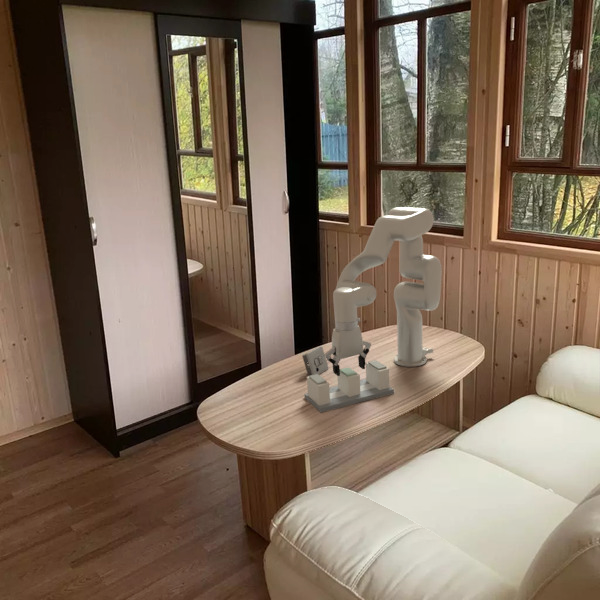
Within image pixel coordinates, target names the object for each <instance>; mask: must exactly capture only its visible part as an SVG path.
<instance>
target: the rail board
mask: <svg viewBox="0 0 600 600" xmlns="http://www.w3.org/2000/svg"><path fill="white" fill-rule="evenodd" d="M329 390H330V403H328V404H324V405H320V406H319V405H318V404H317V403H316V402H315V401H314V400H313V399H311V398H310V397H309V396H308V392H305V393H304V395H303V396H304V399H305V400H306V401H307V402H308V403H310V404H311V405H312V406H313V407H314V408H315V409H317V410H318V412H320V413H324V412H328V411H331V410H335V409H339V408H343V407H347V406H351V405H356V404H358V403H361V402H362V403H363V402H365V401H370V400H375V399H377V398H381V397H384V396H389V395H393V394H395V389H394V388H393V387H391V386H390V385H389V388H386V389H382V390H379V389H377V388H376V387H374V386H373V385H372V384H370V383H368V382H367V381H366V378H363V379H360V393H361V394H359V395H355V396H351V397H348V396H347V395H346V394H344V393H343V392H342V391H341V390H339V389H338V385H335V386H329Z"/></svg>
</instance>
